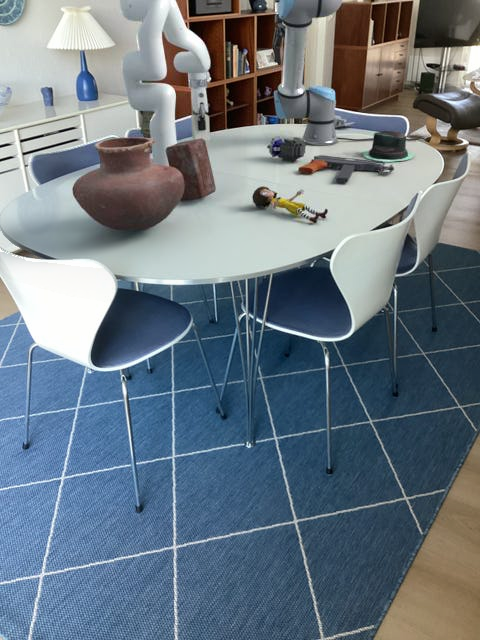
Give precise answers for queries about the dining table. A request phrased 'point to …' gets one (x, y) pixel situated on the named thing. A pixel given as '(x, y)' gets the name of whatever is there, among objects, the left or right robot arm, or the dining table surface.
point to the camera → (338, 120)
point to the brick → (203, 133)
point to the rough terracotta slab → (192, 168)
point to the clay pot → (128, 186)
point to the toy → (287, 148)
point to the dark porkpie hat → (388, 147)
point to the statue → (146, 121)
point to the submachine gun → (343, 166)
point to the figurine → (284, 203)
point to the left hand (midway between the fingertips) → (200, 128)
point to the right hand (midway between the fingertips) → (282, 64)
